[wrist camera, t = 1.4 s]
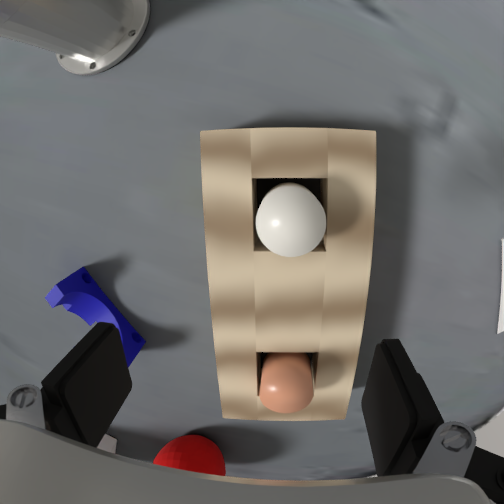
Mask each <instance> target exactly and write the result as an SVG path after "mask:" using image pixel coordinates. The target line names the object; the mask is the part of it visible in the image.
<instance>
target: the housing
mask: <svg viewBox="0 0 504 504" xmlns="http://www.w3.org/2000/svg"><path fill="white" fill-rule="evenodd" d="M200 143H201V169H202V190H203V209H204V226H205V241H206V255H207V268H208V281H209V293H210V304H211V315H212V326H213V336H214V346H215V355H216V364H217V373H218V381H219V390H220V398H221V406H222V414H223V418H231V419H247V420H272V421H312V420H337V419H345V417H346V412H347V408H348V404H349V399H350V395H351V390H352V386H353V381H354V376H355V371H356V366H357V360H358V355H359V349H360V343H361V337H362V331H363V325H364V318H365V311H366V304H367V296H368V288H369V279H370V269H371V259H372V247H373V234H374V219H375V197H376V131H369V130H355V129H335V128H243V129H224V130H209V131H200ZM257 178H320V204H321V205H322V207H323V209H324V212H325V215H326V230H325V233H324V236H323V238H322V240H321V241H320V243H319V244H318V245H317V246H316V247H315V248H314V249H313V250H312V251H310V252H309V253H307V254H304V255H302V256H297V257H285V256H281V255H278V254H275V253H273V252H272V251H270V250H269V249H268V248H267V247H266V246H265V245H264V244H263V243H262V241H261V240H260V238H259V236H258V233H257V229H256V215H257V212H258V211H257ZM260 352H313V354H312V365H311V374H312V384H313V399H312V401H311V402H310V404H309V405H308V406H307V407H305V408H304V409H302V410H300V411H297V412H293V413H278V412H274V411H272V410H270V409H268V408H267V407H265V406H264V405H263V404H262V402H261V400H260V396H259V394H260V385H261V376H262V368H261V362H260Z"/></svg>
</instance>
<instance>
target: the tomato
mask: <svg viewBox="0 0 504 504" xmlns="http://www.w3.org/2000/svg"><path fill="white" fill-rule="evenodd" d="M153 464H157V465H161V466H166V467H171V468H176V469H181V470H186V471H192V472H198V473H205V474H212V475H219V476H225V474H226V471H225V462H224V458H223V455H222V453H221V451H220V449H219V447H218V446H217V445H216V444H215V443H214V442H213V441H211V440H209V439H208V438H206V437H203V436H200V435H186V436H181V437H178V438H176V439H174V440H172V441H170V442H169V443H167V444H166V445H165V446H164V447H163V448H162V449H161V450H160V452H159V453H158V454H157V456H156V457H155V459H154V462H153Z"/></svg>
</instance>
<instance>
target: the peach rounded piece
mask: <svg viewBox="0 0 504 504" xmlns="http://www.w3.org/2000/svg"><path fill="white" fill-rule="evenodd" d="M259 396H260V400H261V402H262V404H263V405H264V406H265V407H267V408H268V409H270V410H272V411H274V412H278V413H293V412H297V411H300V410H302V409H304V408H305V407H307V406H308V405H309V404H310V402H311V401H312V399H313V384H312V374H311V364H310V359H309V357H308V355H307V354H306V353H305V352H269V353H268V354H267V355H266V356H265V358H264V361H263V367H262V376H261V385H260V394H259Z"/></svg>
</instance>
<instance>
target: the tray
mask: <svg viewBox="0 0 504 504" xmlns="http://www.w3.org/2000/svg"><path fill="white" fill-rule="evenodd" d="M501 240H502V285H501V301H500V313H499V323H498V331H497V333H496V334H499V333H501V332H503V331H504V238H502V239H501Z"/></svg>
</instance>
